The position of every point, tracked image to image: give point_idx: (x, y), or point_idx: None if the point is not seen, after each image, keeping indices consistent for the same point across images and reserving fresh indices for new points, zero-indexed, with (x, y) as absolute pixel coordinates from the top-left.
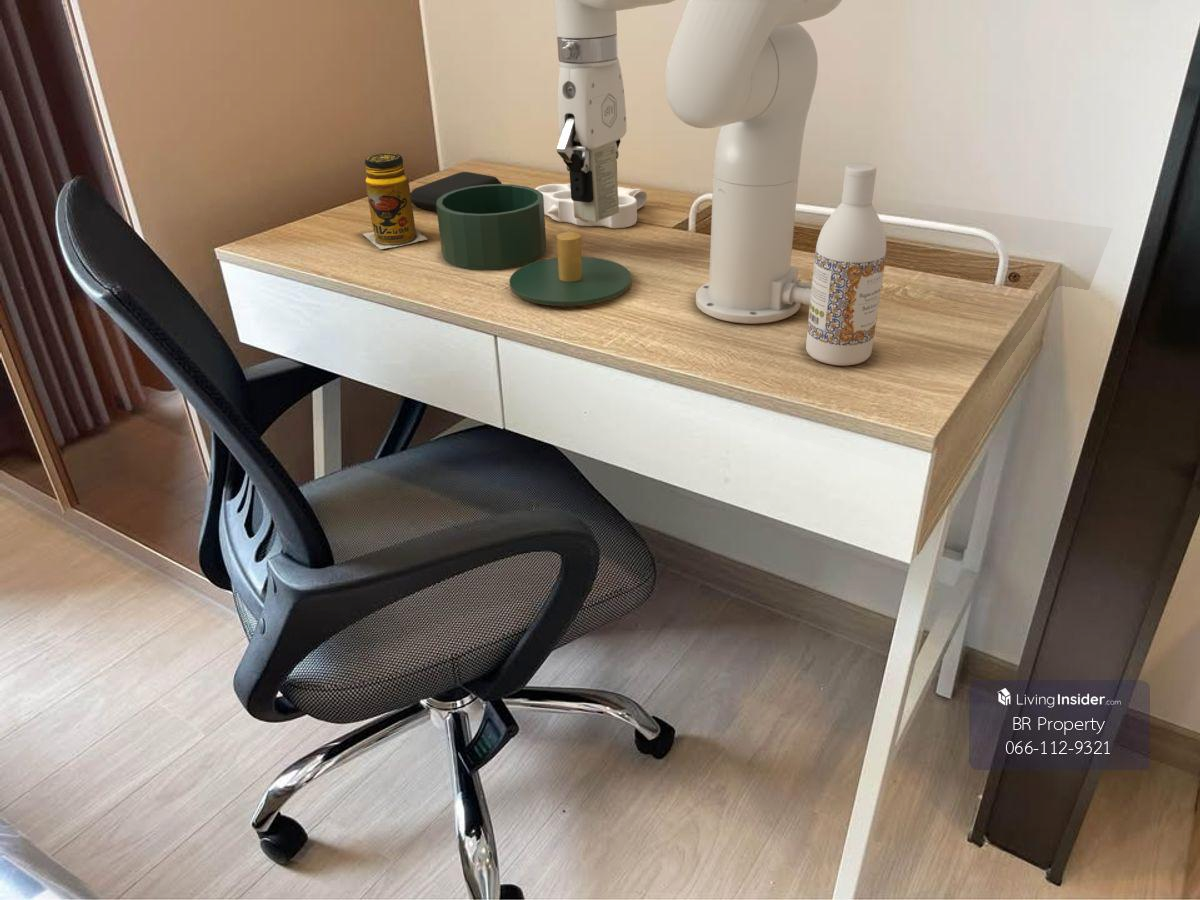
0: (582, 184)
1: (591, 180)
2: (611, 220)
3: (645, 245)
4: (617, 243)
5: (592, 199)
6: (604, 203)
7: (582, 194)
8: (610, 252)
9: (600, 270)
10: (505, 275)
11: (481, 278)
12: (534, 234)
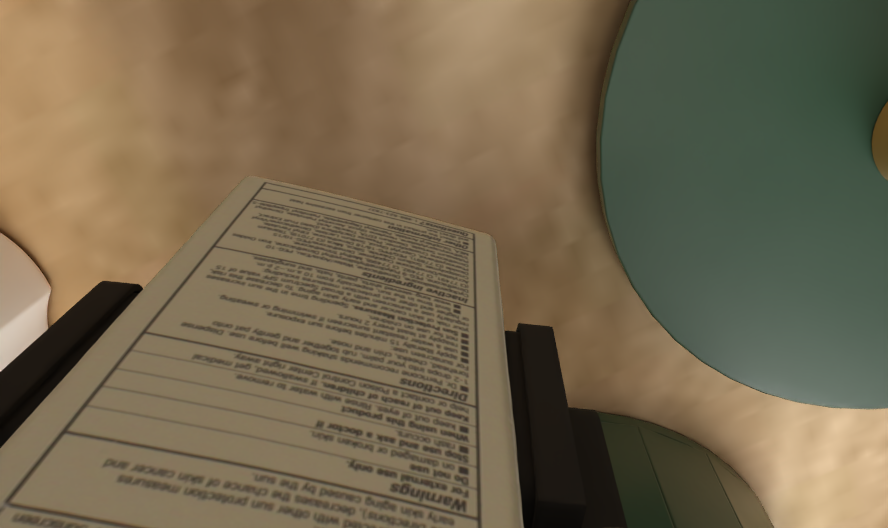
0: (611, 474)
1: (552, 433)
2: (28, 306)
3: (179, 5)
4: (228, 168)
5: (534, 327)
6: (398, 255)
7: (595, 416)
8: (369, 145)
9: (795, 19)
10: (811, 445)
11: (864, 508)
12: (632, 497)
